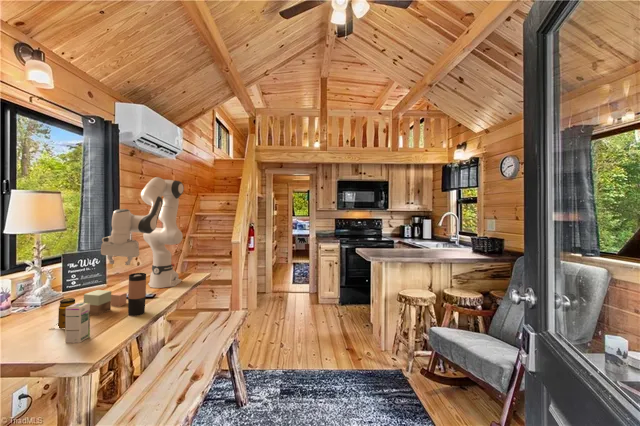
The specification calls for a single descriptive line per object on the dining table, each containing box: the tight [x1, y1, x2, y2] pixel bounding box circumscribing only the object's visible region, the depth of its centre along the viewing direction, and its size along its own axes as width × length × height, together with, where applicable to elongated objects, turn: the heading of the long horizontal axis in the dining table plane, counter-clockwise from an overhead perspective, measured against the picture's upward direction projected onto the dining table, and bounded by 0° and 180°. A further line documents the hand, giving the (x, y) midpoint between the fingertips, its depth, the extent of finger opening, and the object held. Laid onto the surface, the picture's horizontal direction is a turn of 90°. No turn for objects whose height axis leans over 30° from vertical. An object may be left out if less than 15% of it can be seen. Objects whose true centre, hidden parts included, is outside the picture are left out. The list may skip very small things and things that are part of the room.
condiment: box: [50, 297, 76, 330], centre depth 135 cm, size 7×8×12 cm
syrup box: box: [64, 301, 91, 344], centre depth 123 cm, size 6×6×14 cm
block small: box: [111, 291, 128, 307], centre depth 165 cm, size 5×5×6 cm
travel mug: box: [127, 272, 147, 317], centre depth 153 cm, size 8×8×20 cm
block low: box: [90, 301, 112, 316], centre depth 154 cm, size 8×8×5 cm
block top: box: [83, 289, 112, 306], centre depth 153 cm, size 8×8×5 cm
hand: (119, 264), depth 165 cm, fingers open, 8 cm apart
